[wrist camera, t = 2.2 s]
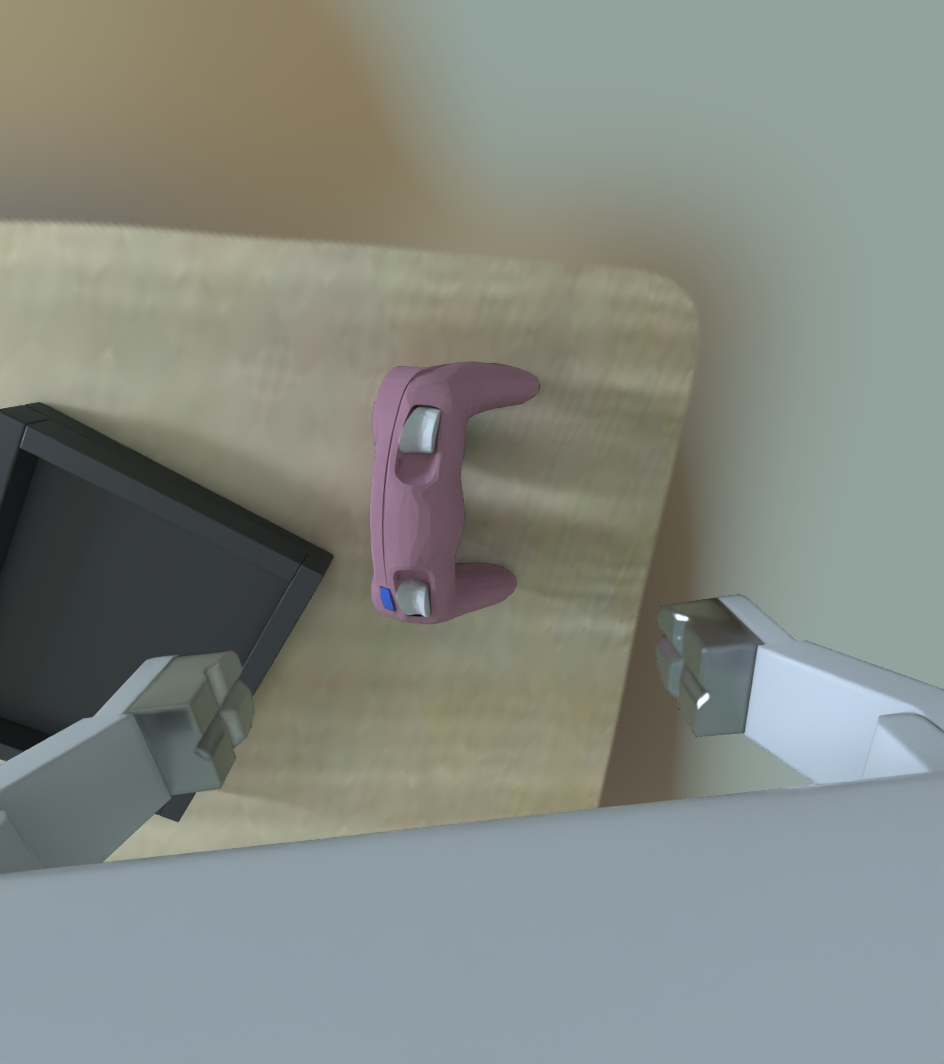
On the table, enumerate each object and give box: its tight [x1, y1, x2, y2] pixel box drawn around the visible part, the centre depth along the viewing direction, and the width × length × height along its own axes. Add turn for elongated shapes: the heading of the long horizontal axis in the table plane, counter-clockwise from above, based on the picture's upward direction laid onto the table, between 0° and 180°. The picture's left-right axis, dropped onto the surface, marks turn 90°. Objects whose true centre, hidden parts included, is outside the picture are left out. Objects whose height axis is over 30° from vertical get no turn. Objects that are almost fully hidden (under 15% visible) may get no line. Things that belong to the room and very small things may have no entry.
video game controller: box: [370, 362, 540, 624], centre depth 18 cm, size 10×5×7 cm, turn 176°
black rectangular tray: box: [0, 402, 333, 822], centre depth 22 cm, size 12×16×2 cm
